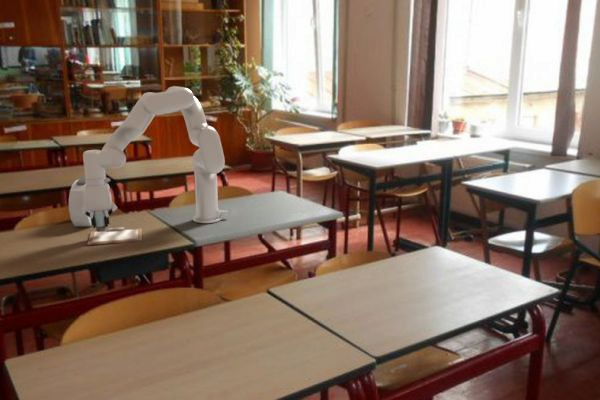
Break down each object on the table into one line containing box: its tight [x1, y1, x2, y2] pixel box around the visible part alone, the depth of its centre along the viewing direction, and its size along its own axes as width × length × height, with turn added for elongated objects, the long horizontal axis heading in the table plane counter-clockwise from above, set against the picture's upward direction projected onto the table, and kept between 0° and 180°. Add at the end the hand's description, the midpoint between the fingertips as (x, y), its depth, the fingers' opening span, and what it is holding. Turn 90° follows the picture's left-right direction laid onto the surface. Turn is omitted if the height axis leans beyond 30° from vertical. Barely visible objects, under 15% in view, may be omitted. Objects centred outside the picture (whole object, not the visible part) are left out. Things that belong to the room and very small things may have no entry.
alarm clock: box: [68, 176, 93, 228], centre depth 247 cm, size 21×8×20 cm, turn 179°
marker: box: [94, 210, 107, 232], centre depth 226 cm, size 4×4×10 cm
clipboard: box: [87, 226, 143, 246], centre depth 229 cm, size 20×16×2 cm
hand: (100, 226), depth 227 cm, fingers closed on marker, 3 cm apart
